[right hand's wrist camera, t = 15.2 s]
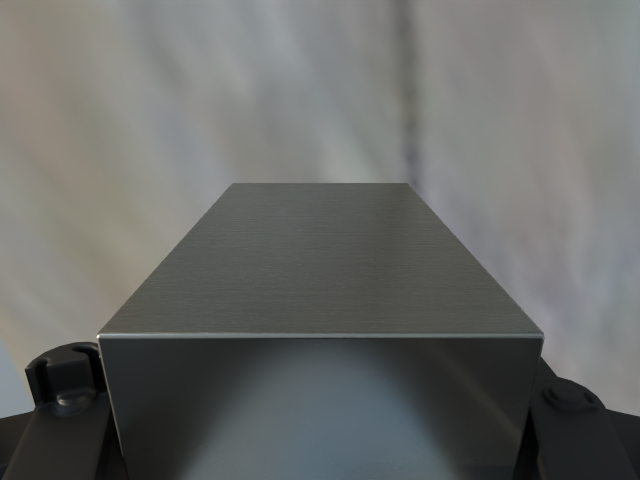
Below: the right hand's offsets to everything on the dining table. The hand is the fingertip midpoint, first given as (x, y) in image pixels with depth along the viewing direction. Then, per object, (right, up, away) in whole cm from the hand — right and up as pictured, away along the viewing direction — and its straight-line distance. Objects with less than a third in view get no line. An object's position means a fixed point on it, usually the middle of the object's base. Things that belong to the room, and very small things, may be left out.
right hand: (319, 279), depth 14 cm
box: (0, -8, +3) cm, 9 cm away
